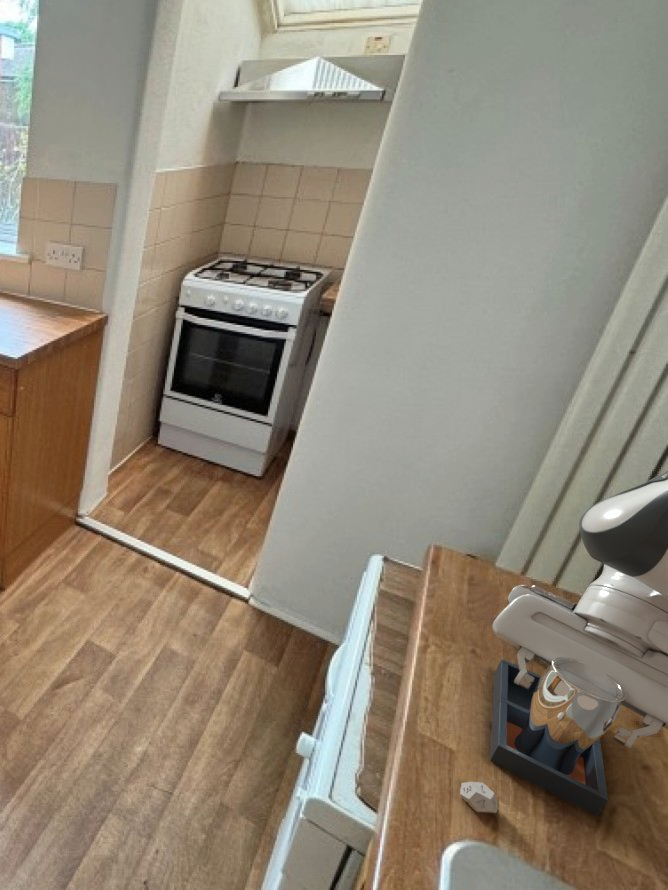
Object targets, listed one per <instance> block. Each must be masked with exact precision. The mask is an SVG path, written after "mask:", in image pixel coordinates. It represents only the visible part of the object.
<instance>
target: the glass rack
mask: <svg viewBox="0 0 668 890" xmlns="http://www.w3.org/2000/svg"><path fill="white" fill-rule="evenodd" d="M519 672H520V671H519V665H518V664H515V663H512V662H510V661H507V660H505V659H504V658H501V659H500V661H499V663H498V665H497V667H496V669H495V671H494V674H493V676H494V677H493V694H492V712H491V713H492V714H491V731H490V733H491V735H490V754H489V755H490V756H489V761H490V762H492V763H493V764H495V765H498V766H499V767H501V768H503V769H505V770H506V771H509V772H510V773H512V774H514V775H517V776H519V777H520V778H523V779H524V780H526V781H528V782H530V783H532V784H534V785H535V786H538V787H540V788H542V789H544V790H545V791H547V792H549V793H551V794H553V795H555V796H556V797H559V798H561V799H563V800H565V801H567V802H569V803H571V804H573V806H576V807H578V808H580V809H581V810H583V811H586V812H587V813H590V814H592V815H593V816H596V817H598V816H599V815H600V814H601V812H602V810H603V809H604V807H605V806H606V805H607V803H608V802H609V799H608V798H609V797H608V789H607V782H606V774H605V767H604V760H603V759H604V758H603V751H602V744H601V738H599V739H598V740H597V741H596V742H595V743H593V744H592V745H591V746H590V747H588V748H587V749H586V750H585V751H584V752H583V753H582V754H581V755H580V756H579V758H578V760H577V762H576V766H575V771H574V775H573V777H572V778H571V777H569V776H567V775H565V774H563V773H561V772H559V771H557V770H555V769H553V768H551V767H549V766H547V765H545V764H543V763H541V762H539V761H537V760H535V759H533V758H531V757H529V756H527V755H525V754H523V753H521V752H519V751H517V750H515V749H513V748H512V745H511V741H512V739H513V737H514V736H515V735H516V734H517V733H519V732H520V731H521V730H522V729H523V727H524V726H525V724H526V722H527V719H528V714H529V709H530V704H531V699H532V695H533V692H534V689H535V687H536V685H537V683H538V681H539V679H540V678H541V676H542V675H540V674H538V673H535V672H533V671H530V669H529V670H528V669H527V674H529V675H531V676H533V677H534V678H535V681H534V682H533V684H532V685H531V687H530V689H529V690H526V689H524V688H522V687H521V686H519V685H517V684H515V683H514V680H515V678H516V677H517V675H518V674H519Z"/></svg>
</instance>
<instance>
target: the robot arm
mask: <svg viewBox="0 0 668 890" xmlns="http://www.w3.org/2000/svg"><path fill="white" fill-rule="evenodd" d="M579 533H580V537H581V541H582V543H583V546H584V548H585V549H586V551H587V553H588V555H589V556H590V558H592V559H593V560H595V561H597V562H599V563H601V564H603V569H602V573H601V574H600V575H599V576H598V578H597V579H596V580H593V581H592V582H591V583H590V584H589V585H588V587H587V588H586V590H585V591H584V593H583V595H582V596H581V597H580V599H579V601H578V602H577V603H576V602H573V601H571V600H568V599H566V598H564V597H562V596H559V595H557V594H554V593H552V592H549V591H547V590H546V589H545V588H543V587H540V586H538V585H535V584H533V585H529V584H519V585H518V584H517V585H516V586H514V587H513V588H512V589H511V591H510V592H509V594H508V596H507V599H506V600H507V604H508V605H506V607H505V608H504V609H503V610H502V611H500V613H499V614H498V615H497V616H496V618H495V619H494V621H493V622H492V625H491V628H492V631H493V633H494V636H495V637H496V638H497V639H499V640H501V641H502V642H504V643H505V644H507V645H510V646H511V647H513V648H515V649H517V650H518V652H517V653H516V658H517V666H519V671H520V672H519V674H518V675H517V677H516V678H515V680H514V683H515V684H517V685H519V686H521V687H522V688H524V689H526V690H529V689H530V687H531V685H532V684H533V682H534V681H535V678H534V677H533V676H531V675H529V674H527V670H528V669H527V664H531V663H532V662H533V661H534V659H536V660H538V661H539V662H541V663H543V664H545V665H546V666H549V665H550V664H551V662H552V660H553V659H554V658H557V657H569V658H574V659H577V660H580V661H582V662H583V663H579V662H566V663H562V664H560V665H559V666H560V667H561V668H563V669H565V670H566V671H568V672H570V673H572V674H574V675H576V676H578V677H579V678H581V679H583V680H585V681H587V682H589V683H591V684H593V685H594V686H596V687H598V688H600V689H602V690H604V691H606V692H608V693H609V694H611V695H613V696H615V697H617V690H616V687H615V685H614V684H613V682H612V681H611V680H610V679H609V678H608V677H607V676H606V675H609V676H610V677H612V678H613V679H615V680H616V681H617V682H618V683H619V684H620V685H621V686H622V688H623V689H624V691H625V693H626V698H625V699H624V701H623V703H622V706H624V708H627V709H628V710H630V711H632V712H634V713H636V714H638V715H639V716H641V717H643V718H642V721H641V722H640V725H641V726H642V727H640V728H636V729H633V730H630V729H627V728H626V727H624V726H621V725H620V727H619V728H618V730H617V732H616V734H615V735H614V736H613V738H612V740H613V741H615V742H617V743H618V744H620V745H621V746H623V747H624V748H626V749H629V750H630V749H631V748H632V746H633V745H634V743H635V742H636V740H637V739H640V738H645V737H648V736H652V735H656V734H658V733H659V732H660V730H661V729H662V728H664V729H666V730H667V731H668V470H667V471H664V472H662V473H661V474H658V475H656V476H655V477H653V478H651V479H649V480H648V481H645V482H643V483H641V484H639V485H637V486H633V487H631V488H629V489H628V488H627V489H626V490H623V491H620V492H618V493H615V494H613V495H610V496H608V497H606V498H603V499H601V500H600V501H598V502H596V503H595V504H593V505H592V506H590V507H589V508H588V509H587V510H586V511H585V512H584V513H583V514H582V516H581V518H580V520H579ZM605 674H606V675H605Z"/></svg>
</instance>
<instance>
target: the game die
mask: <svg viewBox="0 0 668 890" xmlns="http://www.w3.org/2000/svg"><path fill="white" fill-rule="evenodd" d="M459 796H460V797H461V799H462V800H463V801H465V802H466V803H467V805H468V806H469V807H471V808H472V810H474V811H475V812H476V813H485V814H487V813H488V814H496V813H498V807H499V800H498V798H497V796H496V793H495V792H494V791H493V790H492V789H491V788H489V787H488V786H487V785H486V784H485V783H484V782H482V781H464V782H461V784H460V790H459Z"/></svg>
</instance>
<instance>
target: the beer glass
mask: <svg viewBox="0 0 668 890" xmlns="http://www.w3.org/2000/svg"><path fill="white" fill-rule="evenodd" d="M566 662H579V663H583V662H582V661H580V660H577V659H574V658H569V657H557V658H554V659H553V660H552V662H551V664H550V665H547V667H546V669H545V670H544V671H543V673H542V675H540V676H541V678H540V679H539V681H538V683H537V685H536V687H535V689H534V692H533V695H532V699H531V704H530V709H529V714H528V719H527V722H526V724H525V726H524V727H523V729H522V730H521V731H520V732H519V733H517V734H516V735H515V736H514V737H513V739H512V741H511V745H512V748H513V749H515V750H517V751H519V752H521V753H523V754H525V755H527V756H529V757H531V758H533V759H535V760H537V761H539V762H541V763H543V764H545V765H547V766H549V767H551V768H553V769H555V770H557V771H559V772H561V773H563V774H565V775H567V776H569V777H571V778H572V777H573V775H574V771H575V766H576V762H577V760H578V758H579V756H580V755H581V754H582V753H583V752H584V751H585V750H586V749H587V748H588V747H590V746H591V745H592V744H593V743H595V742H596V741H597V740H598V739H599V738H600V739H601V738H603V736H604V735H605V734H606V733H607V732H608V731H609V729H610V728H611V727H612V725H614V723H615V721H616V719H617V717H618V715H619V713H620V710H621V708H622V706H623V705H622V703H623V701H624V699H625V698H626V693H625V691H624V689H623V688H622V686H621V685H620V684H619V683H618V682H617V681H616V680H615V679H613V678H612V677H610V676H609V675H606V674H605V675H606V676H607V677H608V678H609V679H610V680H611V681H612V682H613V684H614V685H615V687H616V690H617V697H615V696H613V695H611V694H609V693H608V692H606V691H604V690H602V689H600V688H598V687H596V686H594V685H593V684H591V683H589V682H587V681H585V680H583V679H581V678H579V677H578V676H576V675H574V674H572V673H570V672H568V671H566V670H565V669H563V668H561V667H560V666H559V665H560V664H562V663H566Z"/></svg>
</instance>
